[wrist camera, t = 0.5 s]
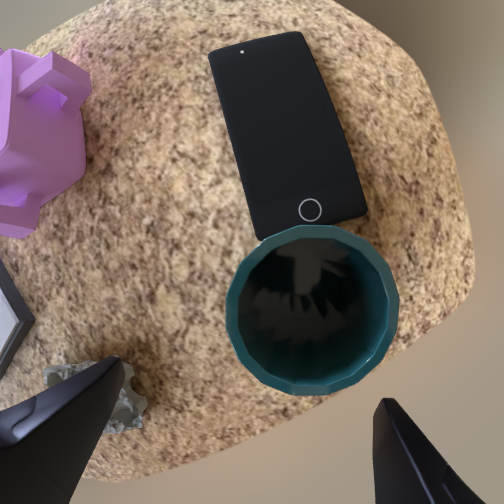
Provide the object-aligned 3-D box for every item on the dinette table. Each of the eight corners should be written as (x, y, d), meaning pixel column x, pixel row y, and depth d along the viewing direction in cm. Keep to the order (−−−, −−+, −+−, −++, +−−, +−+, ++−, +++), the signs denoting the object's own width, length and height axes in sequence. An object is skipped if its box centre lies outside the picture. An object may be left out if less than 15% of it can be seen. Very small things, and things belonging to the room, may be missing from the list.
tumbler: (297, 340, 25) (306, 424, 12) (238, 279, 25) (190, 311, 12) (359, 281, 24) (429, 313, 11) (300, 219, 24) (317, 187, 12)
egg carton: (78, 420, 27) (58, 436, 23) (54, 358, 27) (30, 369, 23) (157, 420, 26) (140, 442, 22) (132, 349, 26) (109, 363, 22)
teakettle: (63, 248, 27) (-36, 248, 14) (-15, 196, 28) (-88, 185, 16) (130, 87, 26) (60, 19, 14) (36, 72, 28) (-25, 33, 15)
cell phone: (258, 243, 25) (257, 243, 24) (208, 57, 25) (206, 51, 24) (366, 215, 24) (369, 214, 23) (300, 35, 24) (300, 29, 23)
